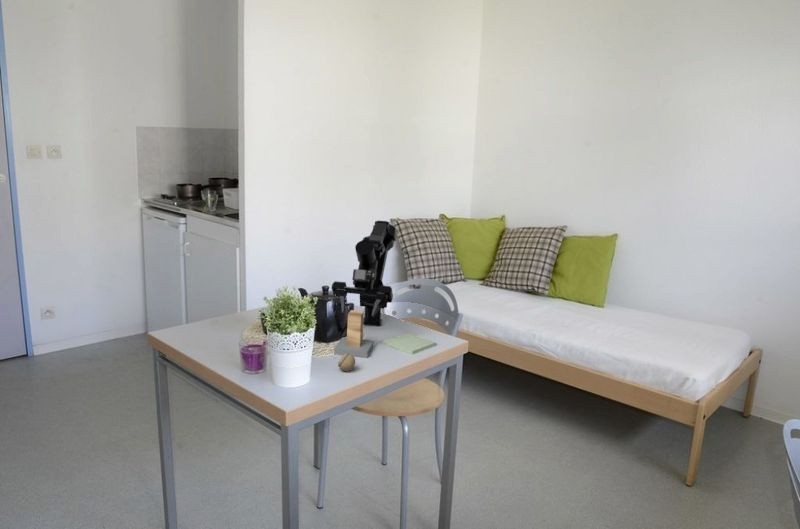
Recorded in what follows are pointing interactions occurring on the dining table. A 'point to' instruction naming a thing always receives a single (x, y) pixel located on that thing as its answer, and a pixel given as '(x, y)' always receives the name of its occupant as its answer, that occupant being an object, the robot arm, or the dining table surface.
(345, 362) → the door knob
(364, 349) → the grey block
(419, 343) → the sage mat
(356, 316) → the oak block
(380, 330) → the dining table surface
